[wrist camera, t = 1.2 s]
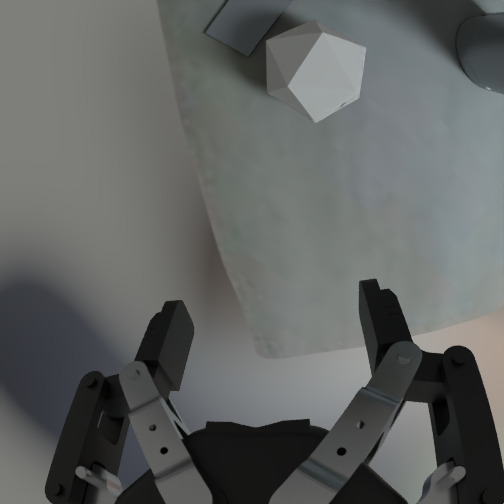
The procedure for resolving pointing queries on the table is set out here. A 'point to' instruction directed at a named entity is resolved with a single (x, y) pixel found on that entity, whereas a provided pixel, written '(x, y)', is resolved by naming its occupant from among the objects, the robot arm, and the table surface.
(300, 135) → the table surface
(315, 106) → the die
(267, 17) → the pad
